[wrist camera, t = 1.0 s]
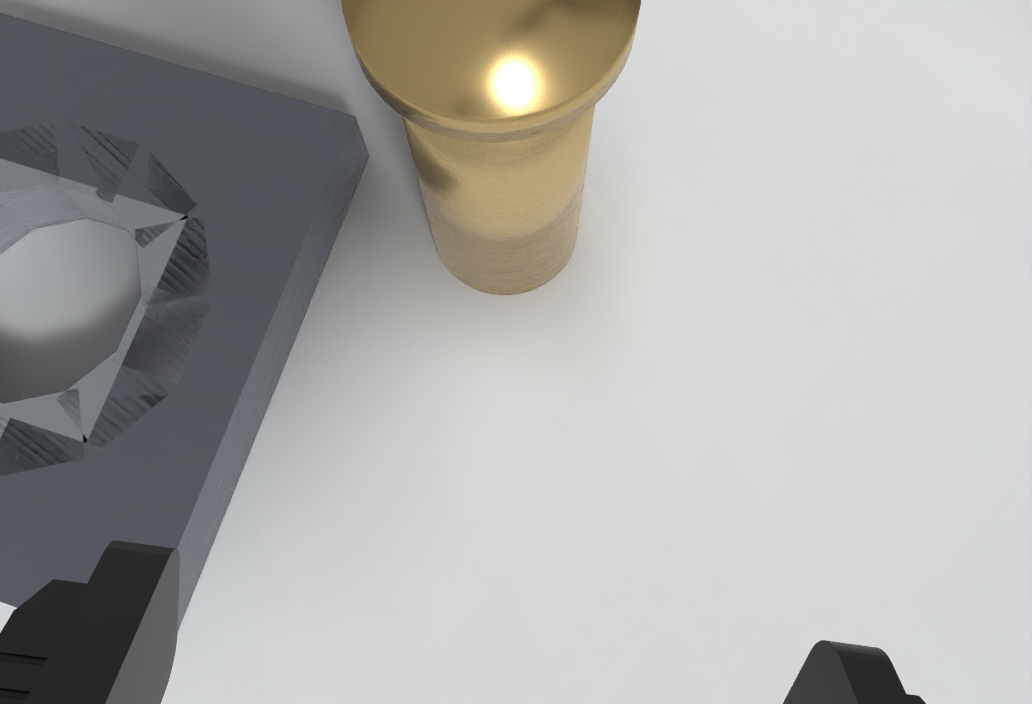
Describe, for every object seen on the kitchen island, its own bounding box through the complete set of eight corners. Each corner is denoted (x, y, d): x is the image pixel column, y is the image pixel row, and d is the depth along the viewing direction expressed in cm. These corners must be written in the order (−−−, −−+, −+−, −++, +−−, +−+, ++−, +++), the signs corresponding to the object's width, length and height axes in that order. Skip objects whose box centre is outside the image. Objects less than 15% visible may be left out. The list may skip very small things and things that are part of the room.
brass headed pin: (448, 123, 30) (400, -173, 19) (618, 172, 30) (677, -101, 18) (388, 282, 29) (295, 68, 17) (565, 336, 28) (591, 153, 17)
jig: (-17, 41, 31) (-63, -6, 29) (368, 155, 30) (355, 116, 28) (-261, 492, 27) (-337, 481, 25) (171, 645, 26) (135, 649, 24)
